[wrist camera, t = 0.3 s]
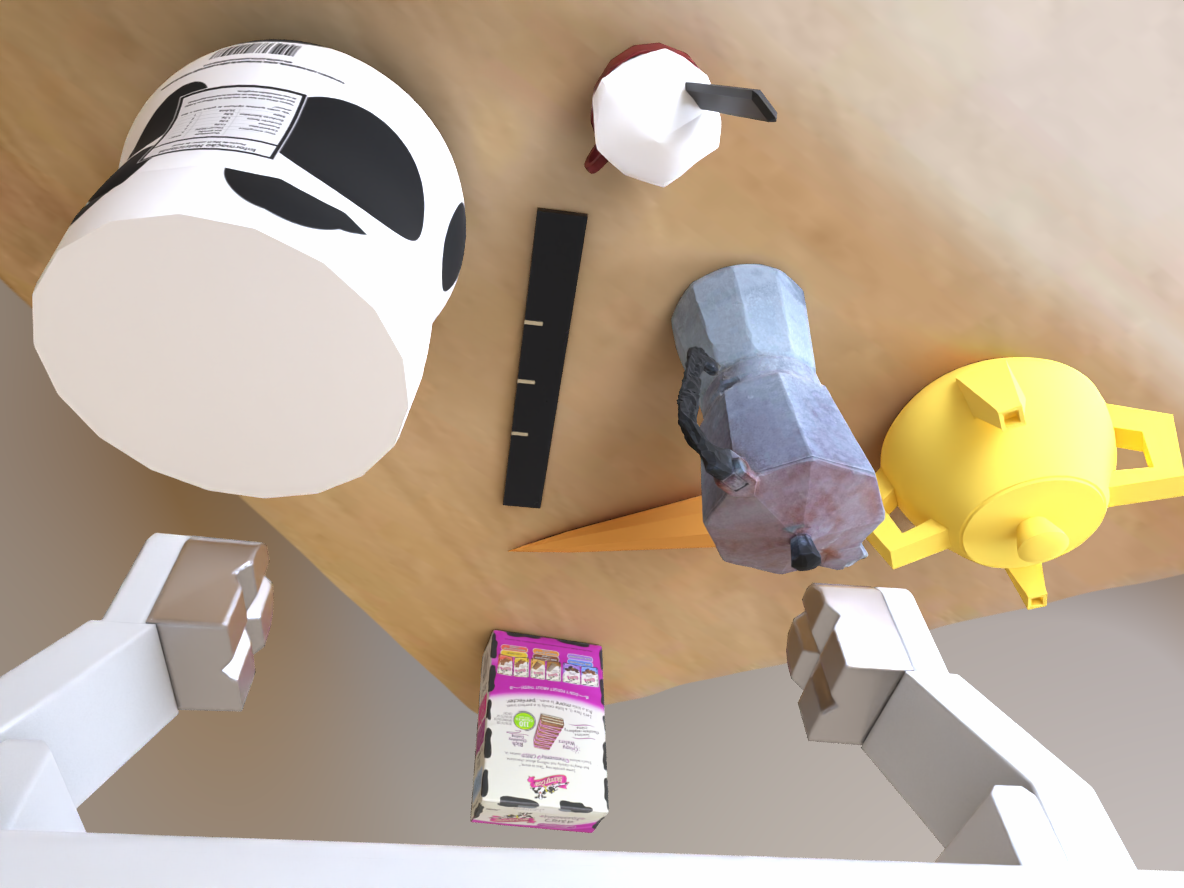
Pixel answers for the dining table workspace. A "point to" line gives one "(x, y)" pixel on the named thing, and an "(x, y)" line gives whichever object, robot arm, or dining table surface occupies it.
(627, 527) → the carrot
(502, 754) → the candy bar box
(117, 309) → the milk container
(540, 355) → the ruler
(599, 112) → the cocoa
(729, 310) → the moka pot
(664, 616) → the dining table surface
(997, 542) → the teapot
